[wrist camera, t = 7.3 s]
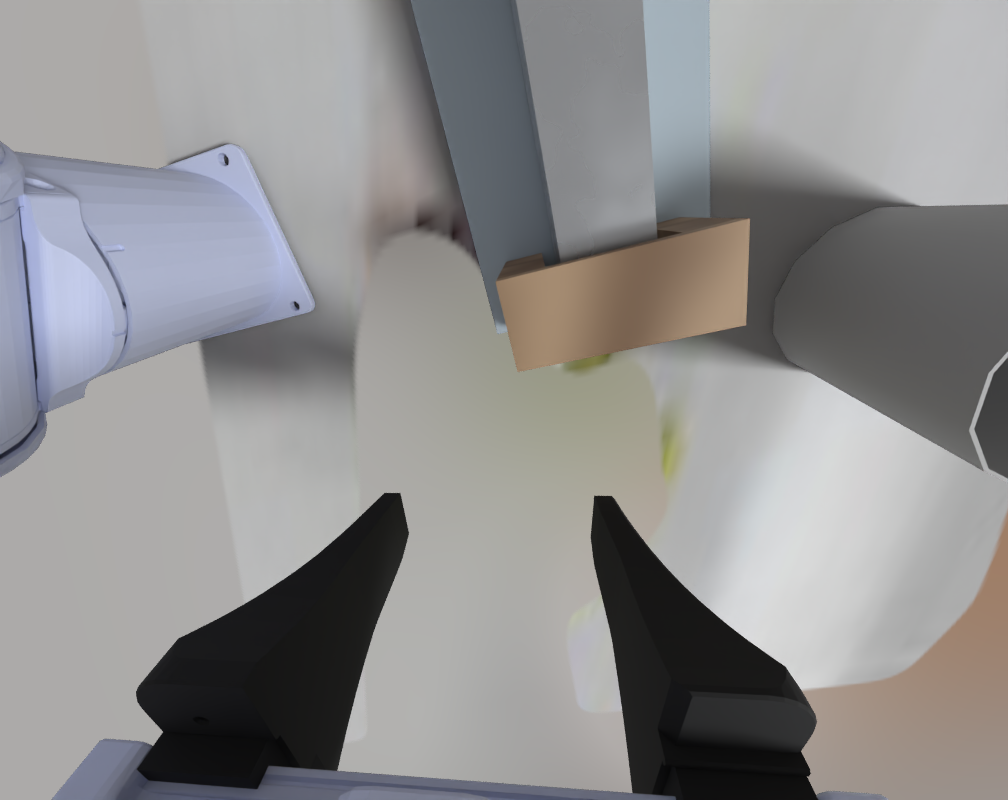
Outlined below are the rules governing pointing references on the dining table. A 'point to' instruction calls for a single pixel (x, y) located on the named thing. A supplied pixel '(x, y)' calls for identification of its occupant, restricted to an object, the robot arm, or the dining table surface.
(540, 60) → the bar
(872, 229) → the cup
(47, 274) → the robot arm
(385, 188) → the dining table surface
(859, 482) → the dining table surface
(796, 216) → the dining table surface
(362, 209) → the dining table surface
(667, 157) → the board
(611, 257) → the socket
